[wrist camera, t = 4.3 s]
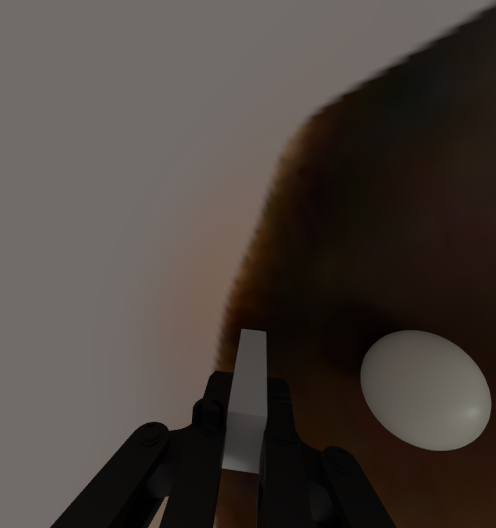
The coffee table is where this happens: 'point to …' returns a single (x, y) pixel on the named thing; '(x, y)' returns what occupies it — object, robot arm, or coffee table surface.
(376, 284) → the coffee table surface
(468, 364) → the white ball
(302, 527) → the robot arm
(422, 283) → the coffee table surface
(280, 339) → the coffee table surface
